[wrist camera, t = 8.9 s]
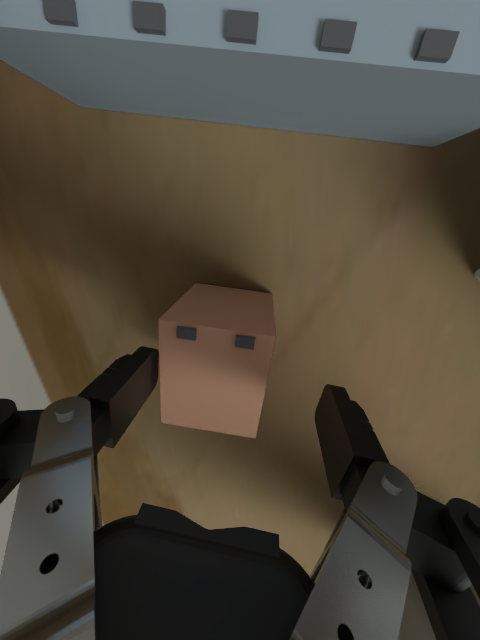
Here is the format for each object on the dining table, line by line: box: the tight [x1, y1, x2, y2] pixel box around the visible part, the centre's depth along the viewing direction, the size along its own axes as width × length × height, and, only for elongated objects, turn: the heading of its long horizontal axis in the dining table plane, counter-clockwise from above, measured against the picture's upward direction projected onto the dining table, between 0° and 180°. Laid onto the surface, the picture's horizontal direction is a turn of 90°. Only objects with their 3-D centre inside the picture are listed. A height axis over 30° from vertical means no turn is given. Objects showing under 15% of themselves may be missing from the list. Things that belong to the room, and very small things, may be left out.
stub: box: [158, 283, 276, 438], centre depth 14 cm, size 5×6×6 cm
